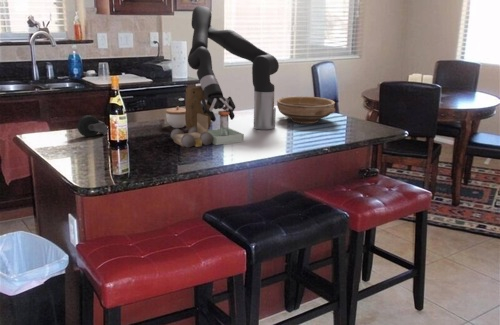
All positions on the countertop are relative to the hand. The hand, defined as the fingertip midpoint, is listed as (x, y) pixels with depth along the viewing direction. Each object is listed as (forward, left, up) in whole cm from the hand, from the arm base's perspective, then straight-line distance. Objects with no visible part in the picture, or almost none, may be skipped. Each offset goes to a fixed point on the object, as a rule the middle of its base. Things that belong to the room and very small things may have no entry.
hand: (223, 119), depth 210 cm
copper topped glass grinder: (-2, -2, -8) cm, 9 cm away
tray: (0, -1, -9) cm, 9 cm away
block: (+1, -22, -9) cm, 23 cm away
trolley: (+13, -3, -9) cm, 16 cm away
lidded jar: (+6, -34, -9) cm, 35 cm away
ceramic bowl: (-55, -17, -9) cm, 58 cm away
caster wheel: (+44, -33, -9) cm, 56 cm away
